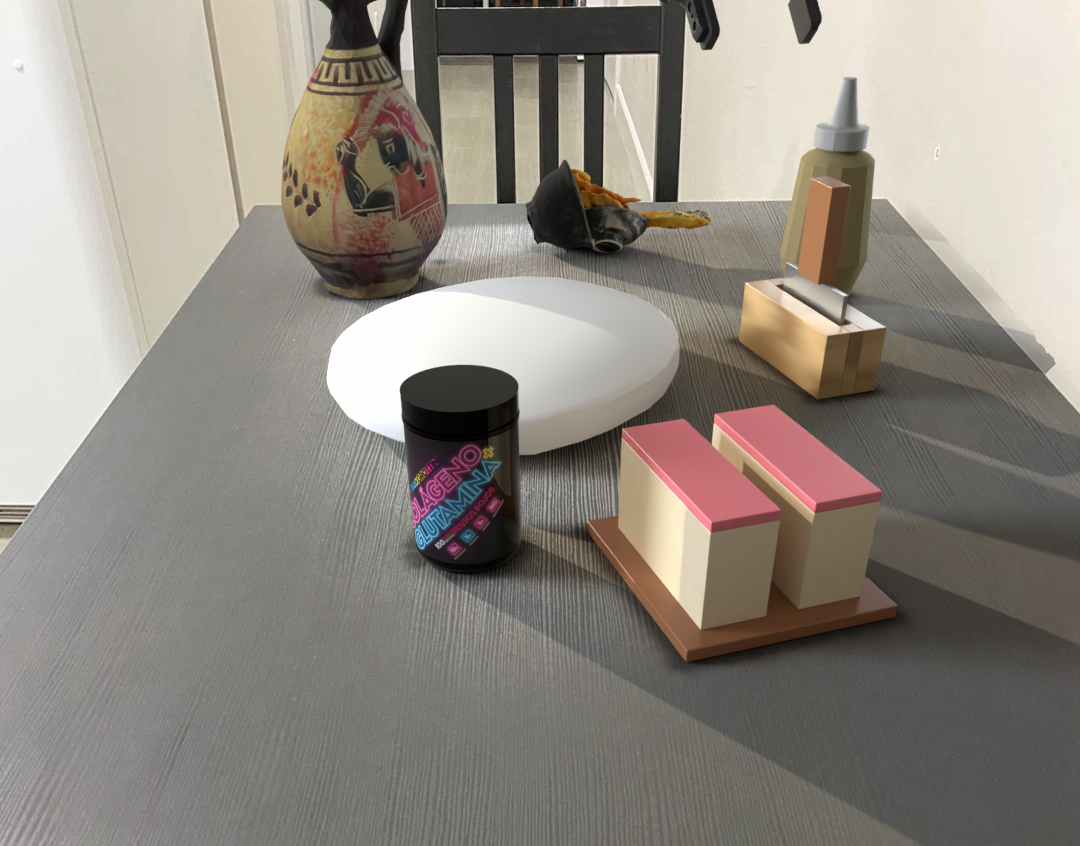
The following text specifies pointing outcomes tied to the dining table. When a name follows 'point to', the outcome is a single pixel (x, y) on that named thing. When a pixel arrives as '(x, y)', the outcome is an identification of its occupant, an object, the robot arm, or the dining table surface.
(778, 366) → the knife block
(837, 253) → the knife
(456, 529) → the supplement container
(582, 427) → the white round flat disc
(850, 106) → the squeeze bottle
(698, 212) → the fried shrimp in bowl
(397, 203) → the ceramic jug
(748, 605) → the cake
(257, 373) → the dining table surface
